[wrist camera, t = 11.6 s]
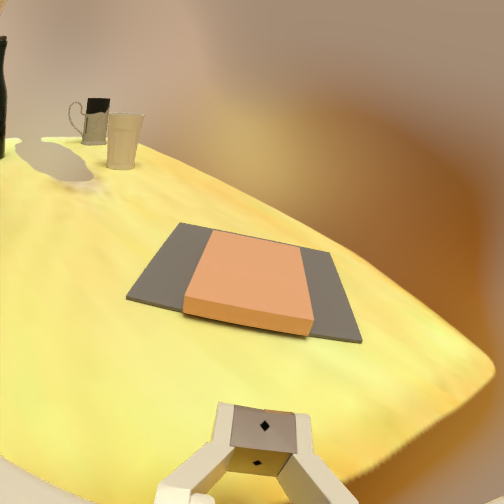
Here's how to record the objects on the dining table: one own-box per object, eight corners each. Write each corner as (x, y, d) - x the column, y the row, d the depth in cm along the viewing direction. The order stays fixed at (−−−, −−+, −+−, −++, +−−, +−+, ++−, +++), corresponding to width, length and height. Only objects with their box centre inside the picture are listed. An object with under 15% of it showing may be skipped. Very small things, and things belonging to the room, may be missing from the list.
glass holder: (109, 144, 89) (115, 99, 83) (67, 146, 80) (72, 98, 74) (103, 141, 95) (108, 98, 89) (64, 142, 86) (68, 97, 80)
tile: (314, 320, 24) (299, 247, 37) (184, 295, 23) (213, 229, 36) (307, 337, 24) (295, 260, 37) (182, 313, 24) (211, 243, 37)
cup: (144, 168, 67) (151, 115, 62) (119, 172, 60) (125, 115, 55) (121, 161, 69) (127, 112, 64) (96, 165, 63) (101, 112, 58)
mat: (361, 343, 25) (362, 340, 25) (126, 298, 25) (126, 295, 24) (328, 254, 42) (329, 252, 42) (179, 224, 41) (179, 222, 41)
